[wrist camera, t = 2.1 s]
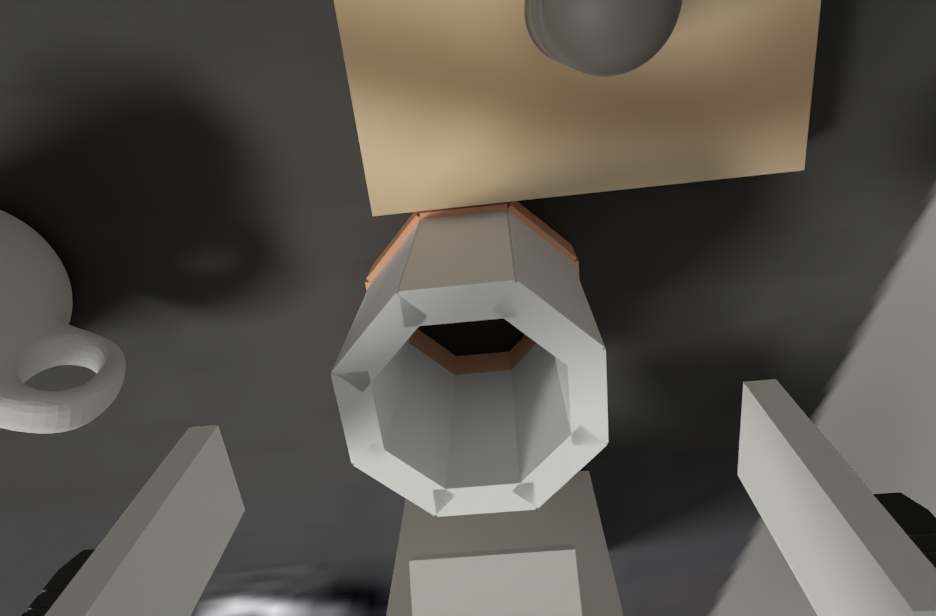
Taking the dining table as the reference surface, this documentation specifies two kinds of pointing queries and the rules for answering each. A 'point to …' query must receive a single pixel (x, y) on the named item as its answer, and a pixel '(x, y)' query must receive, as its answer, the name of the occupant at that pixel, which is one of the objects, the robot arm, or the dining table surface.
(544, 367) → the sleeve
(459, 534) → the box
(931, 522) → the robot arm
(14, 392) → the cup
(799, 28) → the pin board
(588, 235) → the dining table surface
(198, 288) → the dining table surface
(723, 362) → the dining table surface
